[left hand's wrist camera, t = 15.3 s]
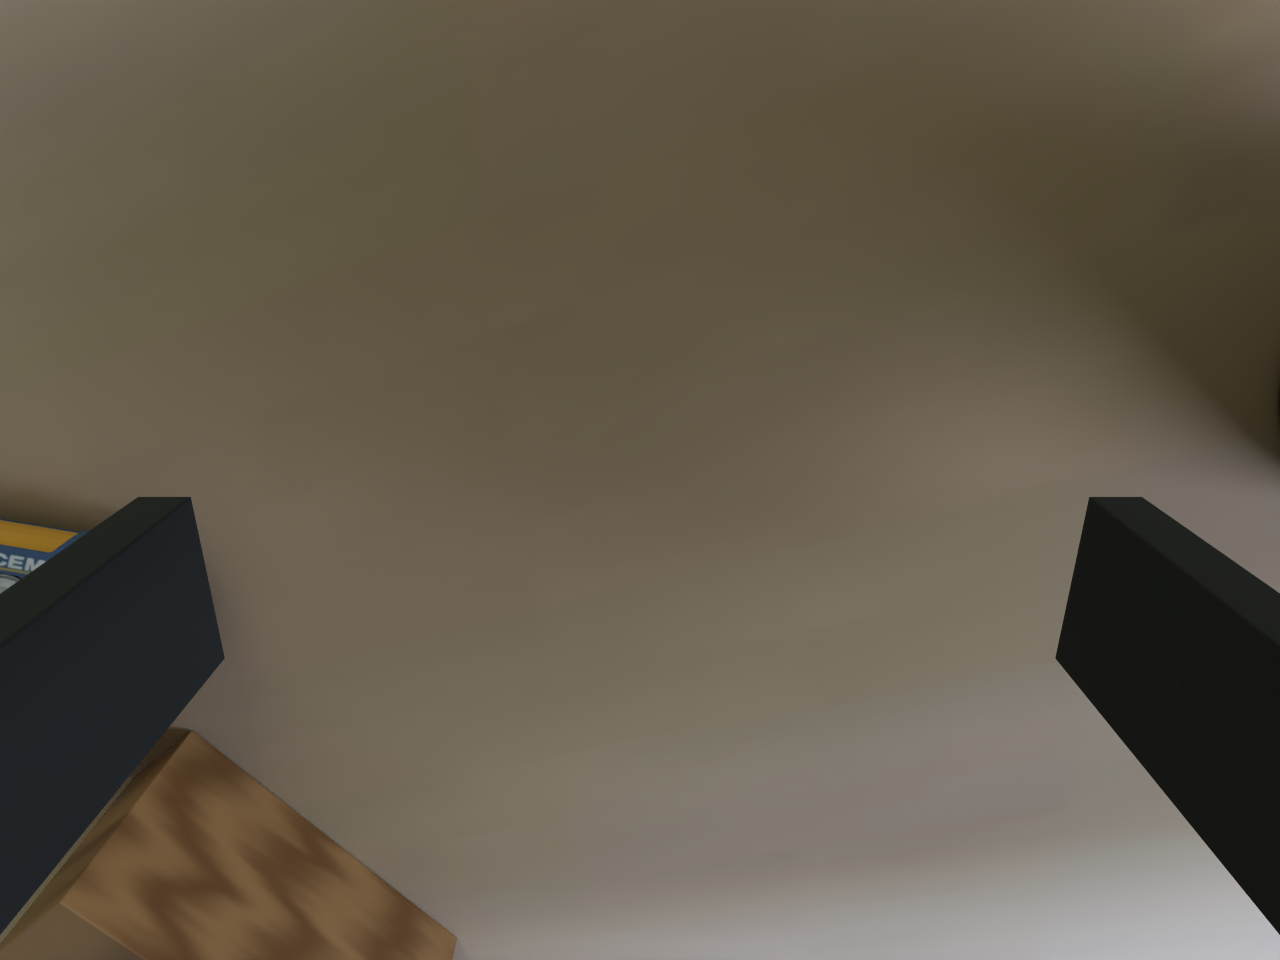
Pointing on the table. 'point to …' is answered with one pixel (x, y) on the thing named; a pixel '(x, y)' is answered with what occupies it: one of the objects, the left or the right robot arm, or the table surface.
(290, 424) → the table surface
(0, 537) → the blue yellow printed carton
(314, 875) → the box
